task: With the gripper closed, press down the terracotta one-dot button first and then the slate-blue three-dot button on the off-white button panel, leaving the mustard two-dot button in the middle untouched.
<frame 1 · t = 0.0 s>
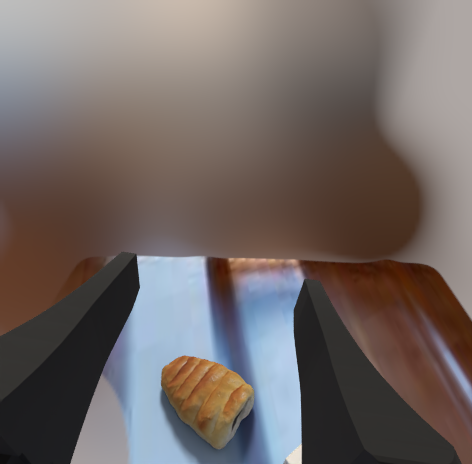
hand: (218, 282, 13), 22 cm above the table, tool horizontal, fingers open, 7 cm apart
pastry: (206, 405, 31), on the table
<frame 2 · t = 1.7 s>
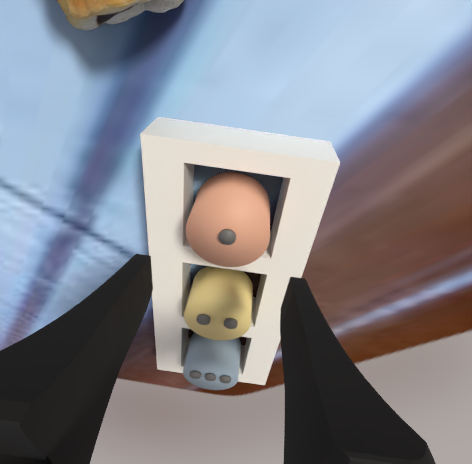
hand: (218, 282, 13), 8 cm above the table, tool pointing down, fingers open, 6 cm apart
slate button: (213, 359, 25), point 4 cm above the table, slide at 0.0 cm
mustard button: (220, 303, 21), point 4 cm above the table, slide at 0.0 cm
button panel: (226, 268, 24), on the table
terracotta button: (230, 220, 17), point 4 cm above the table, slide at 0.0 cm
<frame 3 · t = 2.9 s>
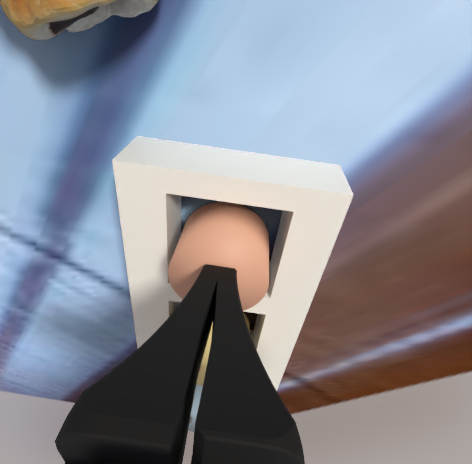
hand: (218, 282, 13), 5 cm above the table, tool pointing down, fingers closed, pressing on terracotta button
slate button: (206, 400, 23), point 4 cm above the table, slide at 0.0 cm
mustard button: (212, 345, 19), point 4 cm above the table, slide at 0.0 cm
button panel: (219, 300, 22), on the table
terracotta button: (222, 259, 14), point 4 cm above the table, slide at 0.0 cm, touching gripper
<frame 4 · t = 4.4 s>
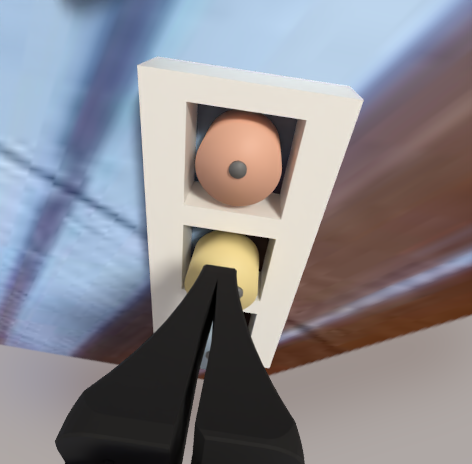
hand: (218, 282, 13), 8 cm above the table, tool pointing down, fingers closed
slate button: (214, 337, 24), point 4 cm above the table, slide at 0.0 cm
mustard button: (223, 272, 19), point 4 cm above the table, slide at 0.0 cm
button panel: (229, 238, 22), on the table
terracotta button: (240, 158, 17), point 2 cm above the table, slide at 1.7 cm
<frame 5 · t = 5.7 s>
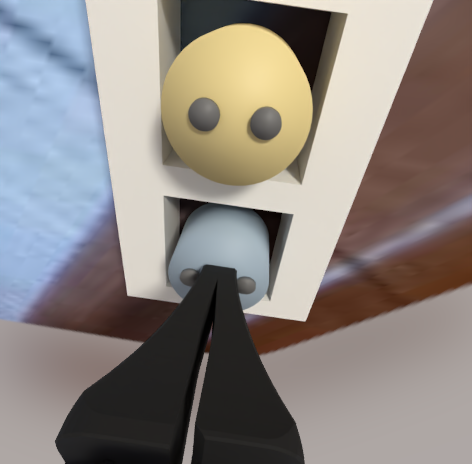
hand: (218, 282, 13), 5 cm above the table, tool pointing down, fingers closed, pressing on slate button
slate button: (222, 258, 14), point 3 cm above the table, slide at 0.3 cm, touching gripper
mustard button: (239, 105, 10), point 4 cm above the table, slide at 0.0 cm
button panel: (245, 83, 13), on the table
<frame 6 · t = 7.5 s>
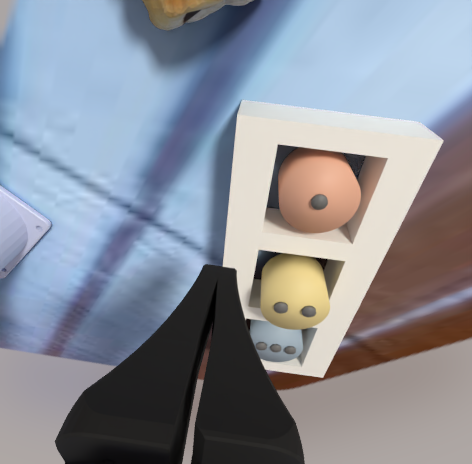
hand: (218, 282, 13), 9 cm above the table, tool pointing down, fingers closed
slate button: (275, 332, 26), point 2 cm above the table, slide at 1.7 cm
mustard button: (293, 292, 21), point 4 cm above the table, slide at 0.0 cm
button panel: (290, 257, 24), on the table
terracotta button: (316, 189, 18), point 2 cm above the table, slide at 1.7 cm
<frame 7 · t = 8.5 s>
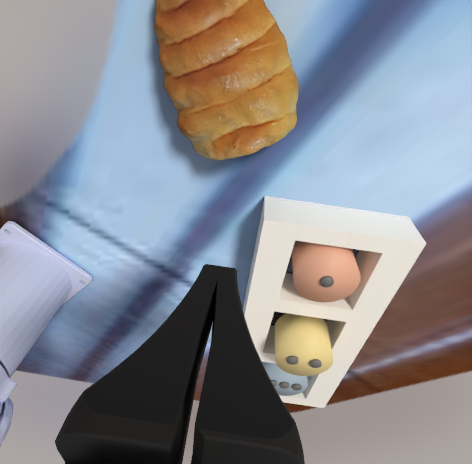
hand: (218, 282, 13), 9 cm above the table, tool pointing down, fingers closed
slate button: (283, 370, 30), point 2 cm above the table, slide at 1.7 cm
mustard button: (302, 344, 25), point 4 cm above the table, slide at 0.0 cm
button panel: (298, 309, 28), on the table
pastry: (226, 73, 17), on the table
terracotta button: (323, 266, 22), point 2 cm above the table, slide at 1.7 cm
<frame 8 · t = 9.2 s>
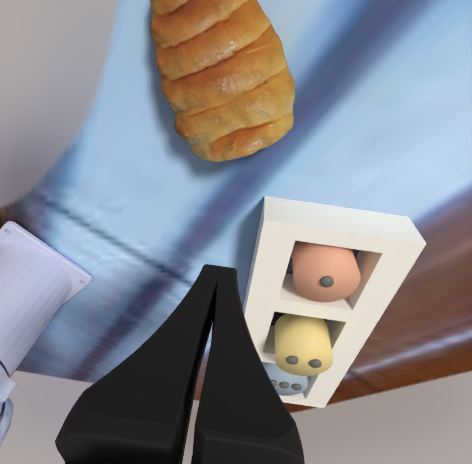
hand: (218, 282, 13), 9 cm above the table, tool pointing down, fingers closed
slate button: (283, 370, 30), point 2 cm above the table, slide at 1.7 cm
mustard button: (302, 344, 25), point 4 cm above the table, slide at 0.0 cm
button panel: (298, 309, 28), on the table
pastry: (223, 75, 17), on the table
terracotta button: (323, 266, 22), point 2 cm above the table, slide at 1.7 cm
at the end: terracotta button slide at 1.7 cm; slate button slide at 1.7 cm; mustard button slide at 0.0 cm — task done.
